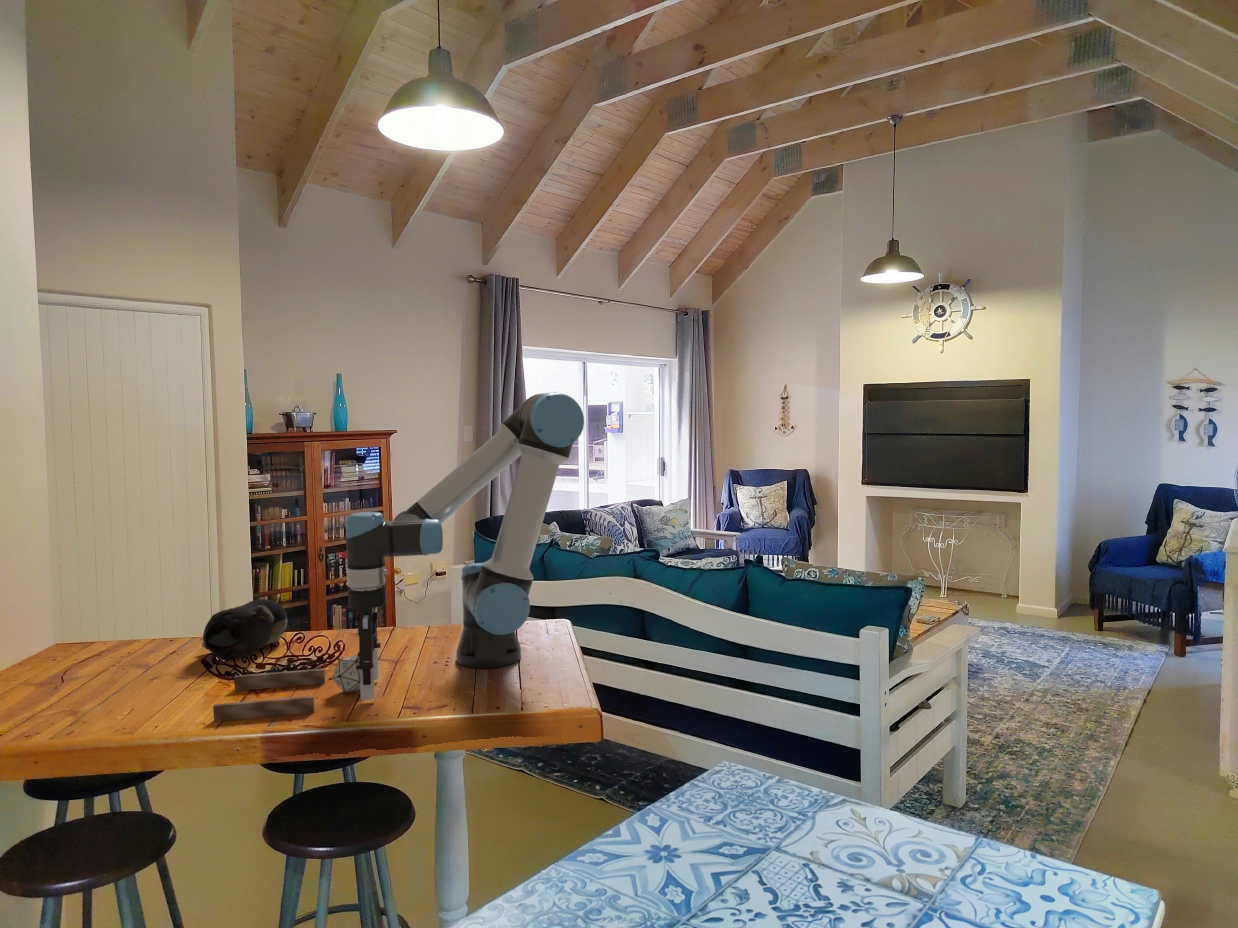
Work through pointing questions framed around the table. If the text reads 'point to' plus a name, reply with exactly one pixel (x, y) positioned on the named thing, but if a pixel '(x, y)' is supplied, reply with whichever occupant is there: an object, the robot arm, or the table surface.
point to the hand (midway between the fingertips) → (369, 688)
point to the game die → (347, 674)
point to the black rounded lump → (244, 628)
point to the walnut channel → (274, 705)
